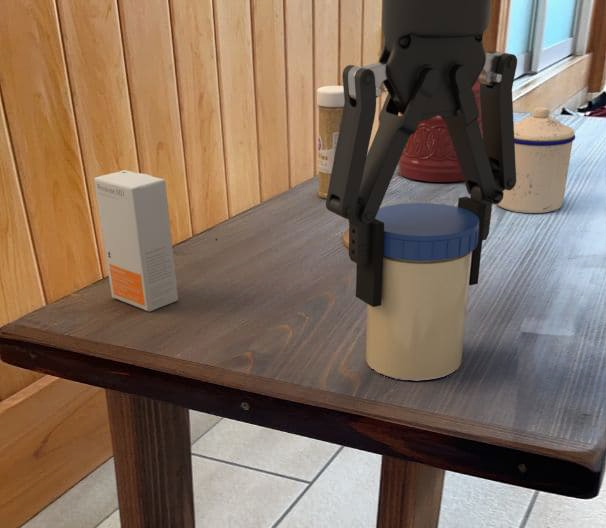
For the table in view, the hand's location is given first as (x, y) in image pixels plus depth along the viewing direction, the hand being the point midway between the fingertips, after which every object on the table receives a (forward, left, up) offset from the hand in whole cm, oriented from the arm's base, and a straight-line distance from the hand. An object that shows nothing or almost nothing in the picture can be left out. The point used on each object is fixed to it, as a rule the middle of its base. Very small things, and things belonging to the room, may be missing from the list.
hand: (417, 290), depth 71 cm
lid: (0, 0, +5) cm, 5 cm away
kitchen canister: (+5, -66, -7) cm, 67 cm away
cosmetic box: (+29, -9, -7) cm, 31 cm away
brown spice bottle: (+18, -51, -7) cm, 55 cm away
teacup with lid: (-7, -51, -7) cm, 52 cm away
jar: (0, 0, -6) cm, 6 cm away
